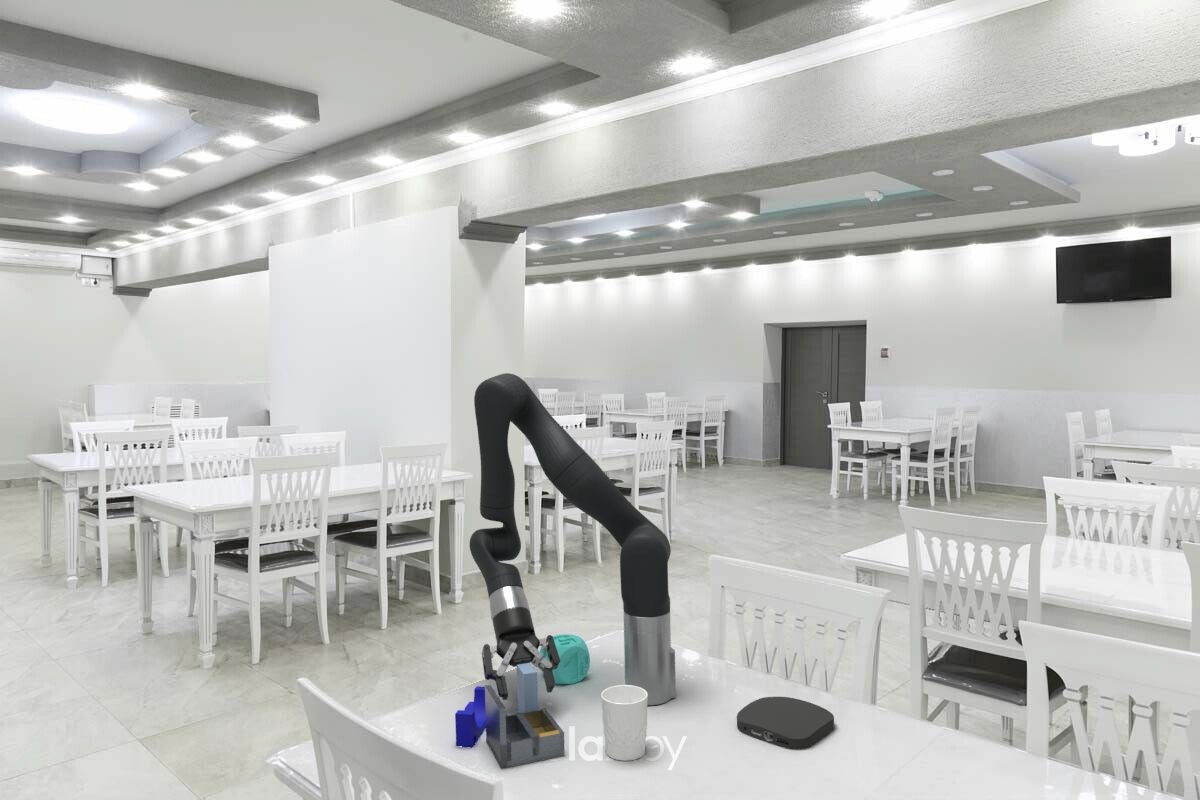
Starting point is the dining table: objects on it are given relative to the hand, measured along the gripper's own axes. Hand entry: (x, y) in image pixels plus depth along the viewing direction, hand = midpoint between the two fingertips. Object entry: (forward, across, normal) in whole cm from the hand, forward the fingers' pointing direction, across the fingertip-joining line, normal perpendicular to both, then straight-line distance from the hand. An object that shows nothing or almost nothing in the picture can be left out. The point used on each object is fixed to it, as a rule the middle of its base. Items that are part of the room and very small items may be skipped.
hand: (528, 694), depth 149 cm
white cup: (+16, +12, -8) cm, 22 cm away
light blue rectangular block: (+3, 0, +5) cm, 6 cm away
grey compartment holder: (+10, -3, -2) cm, 11 cm away
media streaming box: (+18, +42, -10) cm, 47 cm away
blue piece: (+3, -10, +5) cm, 12 cm away
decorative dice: (-9, +13, +17) cm, 23 cm away
